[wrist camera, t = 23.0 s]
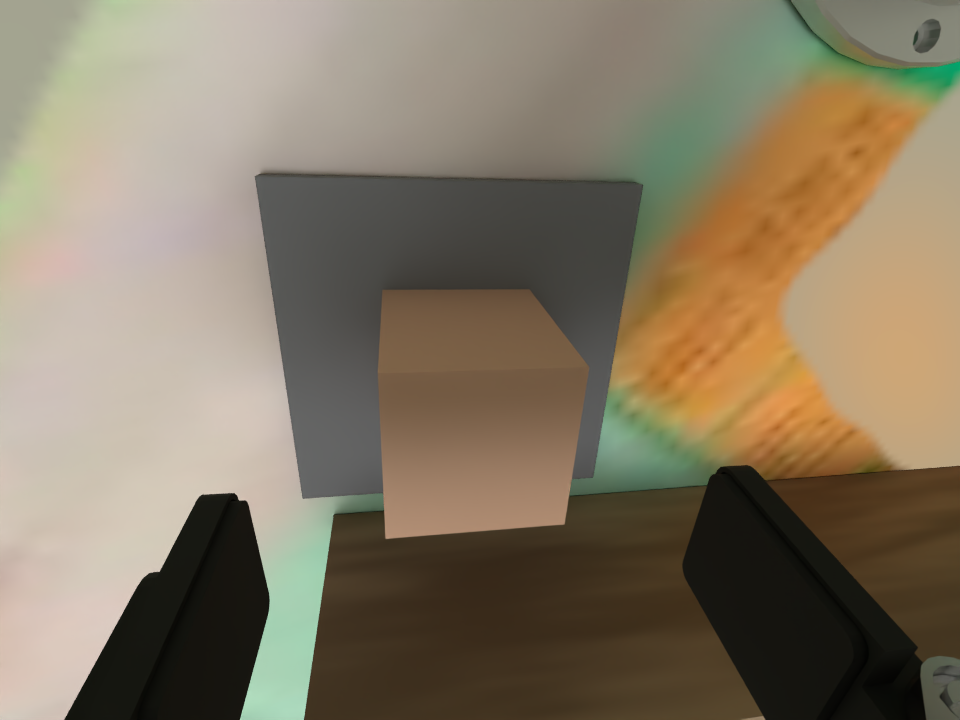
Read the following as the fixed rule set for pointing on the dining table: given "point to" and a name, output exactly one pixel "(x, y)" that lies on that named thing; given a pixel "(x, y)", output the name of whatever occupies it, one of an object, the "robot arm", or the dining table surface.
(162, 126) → the dining table surface
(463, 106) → the dining table surface
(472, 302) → the terracotta block
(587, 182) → the rubber mat
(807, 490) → the wooden shelf frame
